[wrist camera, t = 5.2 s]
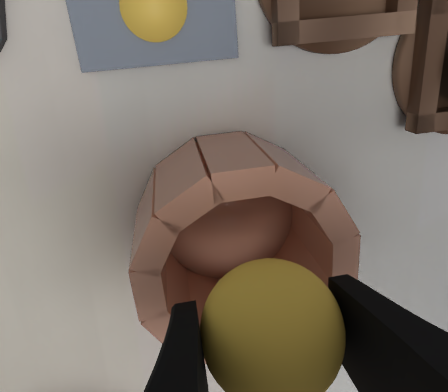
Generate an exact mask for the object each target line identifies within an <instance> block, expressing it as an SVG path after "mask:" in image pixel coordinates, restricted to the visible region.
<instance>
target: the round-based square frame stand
mask: <svg viewBox="0 0 448 392" xmlns="http://www.w3.org/2000/svg"><path fill="white" fill-rule="evenodd" d="M259 3H260V6H261V8H262V10H263V12H264V14H265V16H266V18H267V19H268V21H269V22H270V24H271V25H272V46H286V45H294V46H296V47H299V48H301V49H303V50H306V51H310V52H314V53H322V54H338V53H344V52H349V51H352V50H355V49H358V48H360V47H362V46H364V45H367V44H368V43H370V42H371V41H373V40H375V39H376V38H377V37H381V36H392V35H402V34H413V33H415V24H416V14H417V5H418V0H259Z"/></svg>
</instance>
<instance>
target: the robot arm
mask: <svg viewBox="0 0 448 392" xmlns="http://www.w3.org/2000/svg"><path fill="white" fill-rule="evenodd" d="M328 288H329V290H330V291H331V292H332V294H333V296H334V298H335V299H336V301H337V303H338V305H339V308H340V310H341V313H342V316H343V320H344V326H345V331H346V346H345V353H344V358H343V362H342V365H343V366H344V368H345V370H346V371H347V373H348V375H349V377H350V378H351V380H352V382H353V383H354V385H355V387H356V388H357V390H358V392H448V332H446V331H444V330H442V329H440V328H438V327H437V326H435V325H433V324H431V323H429V322H427V321H425V320H424V319H422V318H420V317H418V316H416V315H415V314H413V313H411V312H410V311H408V310H406V309H404V308H403V307H401V306H399V305H398V304H396V303H394V302H393V301H391V300H389V299H388V298H386V297H385V296H383V295H381V294H380V293H378V292H376V291H375V290H373V289H372V288H370V287H368V286H367V285H365V284H364V283H362V282H360V281H359V280H357V279H355V278H354V277H352V276H350V275H348V274H344V275H339V276H333V277H328ZM144 392H208V383H207V376H206V369H205V361H204V354H203V347H202V340H201V333H200V326H199V319H198V312H197V305H196V300H194V301H188V302H182V303H177V304H174V306H173V307H172V308H171V315H170V320H169V324H168V328H167V332H166V335H165V338H164V341H163V344H162V347H161V350H160V353H159V356H158V358H157V361H156V364H155V366H154V369H153V371H152V373H151V376H150V378H149V381H148V383H147V385H146V388H145V390H144Z"/></svg>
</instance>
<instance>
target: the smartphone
mask: <svg viewBox="0 0 448 392" xmlns="http://www.w3.org/2000/svg"><path fill="white" fill-rule="evenodd" d="M6 40H7V30H6V14H5V0H0V52H1V50H2V48H3V46H4V44H5V42H6Z"/></svg>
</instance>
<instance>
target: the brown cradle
mask: <svg viewBox="0 0 448 392" xmlns="http://www.w3.org/2000/svg"><path fill="white" fill-rule="evenodd" d="M392 80H393V88H394V93H395V97H396V99H397V102H398V104H399V106H400V108H401V110H402V111H403V113H404V114H405V115H406V126H405V130H406V131H409V132H412V133H415V134H420V133H428V132H437V133H441V134H448V0H419V6H418V9H417V14H416V24H415V33H413V34H402V35H401V36H400V39H399V42H398V44H397V47H396V51H395V55H394V60H393V69H392Z"/></svg>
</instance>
